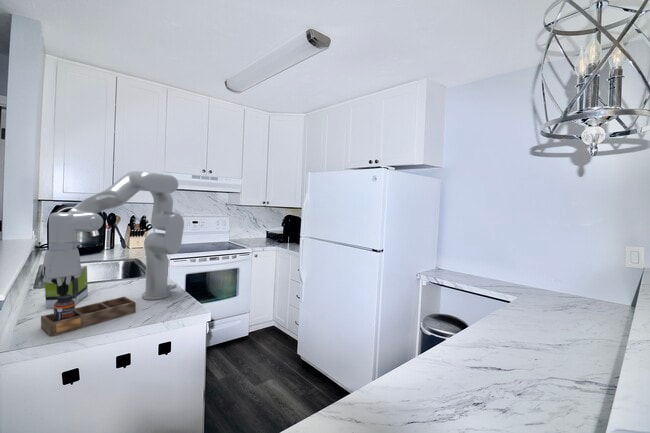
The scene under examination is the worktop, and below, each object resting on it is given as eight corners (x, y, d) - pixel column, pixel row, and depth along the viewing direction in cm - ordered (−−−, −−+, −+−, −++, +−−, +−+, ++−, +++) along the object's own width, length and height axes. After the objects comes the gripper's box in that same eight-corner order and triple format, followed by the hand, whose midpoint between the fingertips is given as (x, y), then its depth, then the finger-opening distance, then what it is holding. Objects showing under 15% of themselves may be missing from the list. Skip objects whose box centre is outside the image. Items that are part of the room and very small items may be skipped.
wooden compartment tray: (124, 306, 135) (124, 296, 134) (135, 312, 129) (136, 302, 129) (41, 328, 111) (40, 316, 111) (51, 337, 106) (51, 324, 105)
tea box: (62, 296, 142) (62, 265, 140) (88, 295, 145) (88, 265, 143) (44, 308, 127) (44, 274, 126) (73, 307, 130) (73, 274, 129)
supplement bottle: (62, 329, 110) (62, 299, 109) (49, 327, 111) (49, 297, 110) (78, 323, 115) (78, 294, 114) (66, 320, 117) (66, 292, 116)
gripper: (83, 242, 118) (82, 288, 120) (31, 247, 106) (31, 297, 107) (91, 245, 114) (90, 292, 116) (38, 250, 102) (39, 303, 103)
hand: (62, 294), depth 112 cm, fingers closed
